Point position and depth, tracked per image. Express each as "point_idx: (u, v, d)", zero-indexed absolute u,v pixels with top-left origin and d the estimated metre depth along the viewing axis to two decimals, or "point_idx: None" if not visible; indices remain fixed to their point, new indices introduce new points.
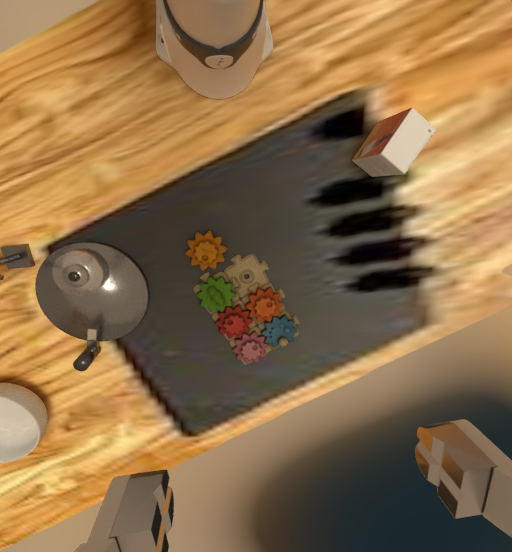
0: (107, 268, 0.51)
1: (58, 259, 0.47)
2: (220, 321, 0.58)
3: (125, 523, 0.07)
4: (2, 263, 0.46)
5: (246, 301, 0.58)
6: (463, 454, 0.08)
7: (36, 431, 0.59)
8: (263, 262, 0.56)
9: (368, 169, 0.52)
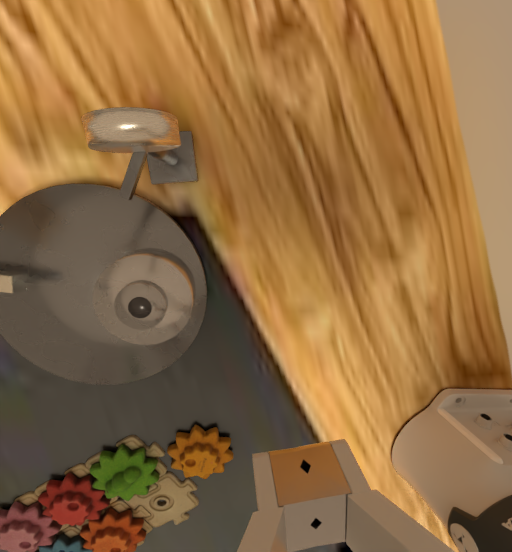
0: None
1: (175, 272, 0.23)
2: (72, 486, 0.32)
3: (286, 494, 0.07)
4: (159, 159, 0.20)
5: (117, 508, 0.35)
6: (324, 479, 0.07)
7: None
8: (185, 517, 0.37)
9: None
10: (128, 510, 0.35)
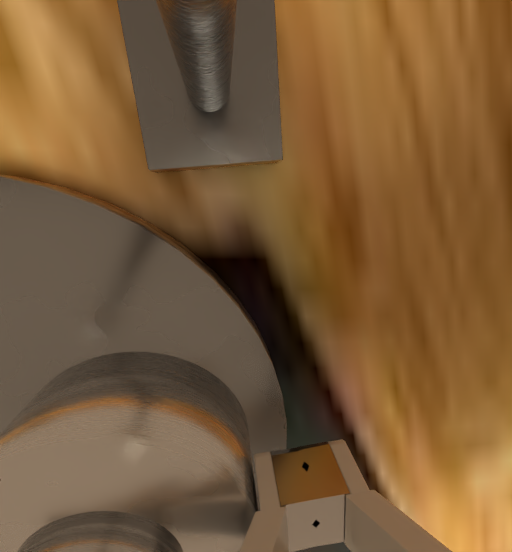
0: None
1: (211, 480, 0.07)
2: None
3: (289, 493, 0.07)
4: (183, 23, 0.04)
5: None
6: (322, 479, 0.07)
7: None
8: None
9: None
10: None
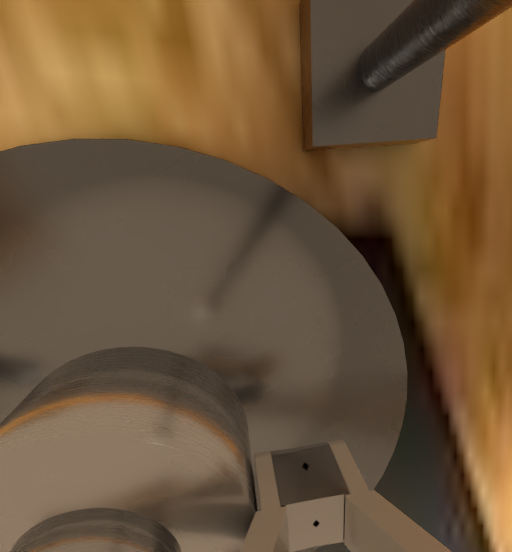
0: None
1: (213, 479, 0.06)
2: None
3: (289, 493, 0.07)
4: None
5: None
6: (322, 479, 0.07)
7: None
8: None
9: None
10: None
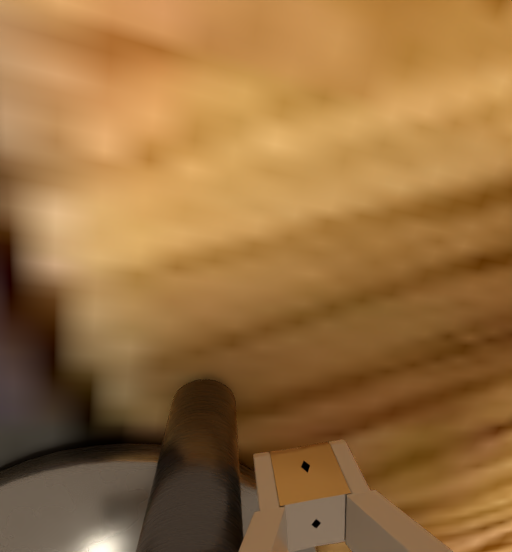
0: None
1: None
2: None
3: (288, 494, 0.07)
4: None
5: None
6: (323, 479, 0.07)
7: None
8: None
9: None
10: None
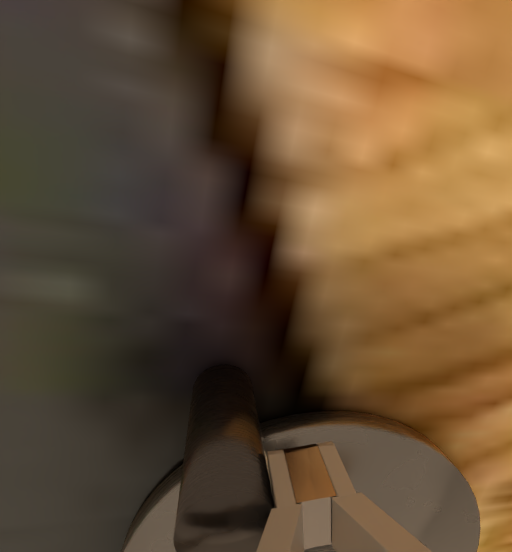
0: None
1: None
2: None
3: (304, 490, 0.07)
4: None
5: None
6: (309, 481, 0.07)
7: None
8: None
9: None
10: None
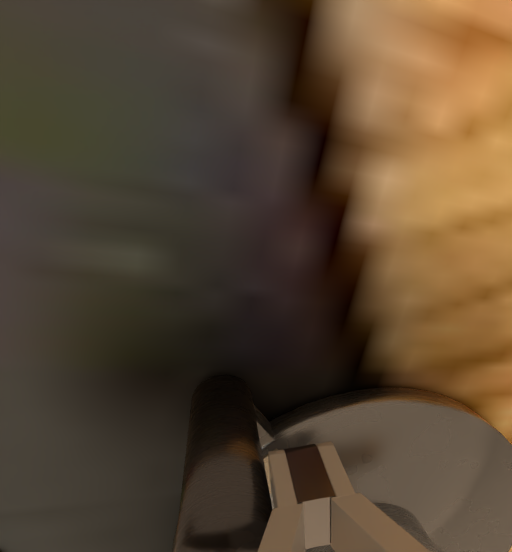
0: None
1: None
2: None
3: (305, 490, 0.07)
4: None
5: None
6: (308, 482, 0.07)
7: None
8: None
9: None
10: None
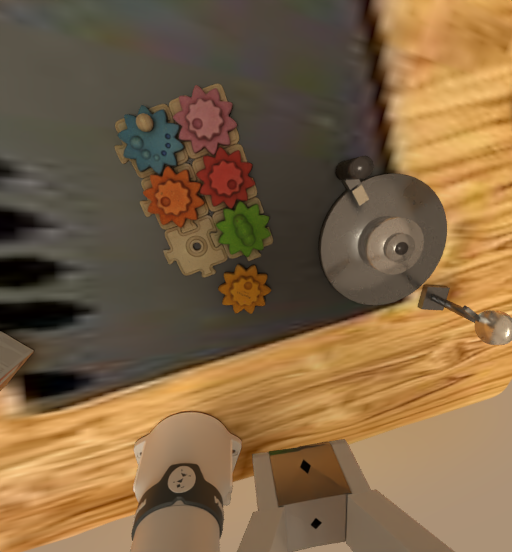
0: (365, 262, 0.42)
1: (421, 249, 0.39)
2: (246, 186, 0.38)
3: (287, 494, 0.07)
4: (452, 306, 0.42)
5: (202, 208, 0.39)
6: (324, 479, 0.07)
7: None
8: (170, 261, 0.40)
9: (3, 346, 0.39)
10: (197, 217, 0.39)
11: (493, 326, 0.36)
